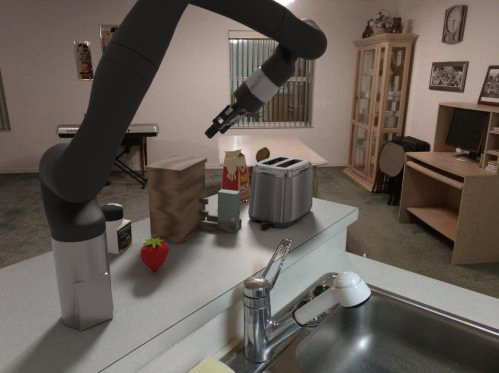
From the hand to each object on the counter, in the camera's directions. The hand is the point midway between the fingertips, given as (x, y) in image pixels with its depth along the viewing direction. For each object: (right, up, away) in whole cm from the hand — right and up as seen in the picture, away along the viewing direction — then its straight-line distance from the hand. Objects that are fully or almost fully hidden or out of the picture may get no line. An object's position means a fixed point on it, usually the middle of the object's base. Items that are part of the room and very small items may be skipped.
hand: (213, 133), depth 98 cm
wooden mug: (+13, -17, +54) cm, 58 cm away
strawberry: (-13, -34, -9) cm, 38 cm away
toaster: (+19, -24, +29) cm, 43 cm away
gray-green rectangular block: (+3, -27, +18) cm, 32 cm away
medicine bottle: (-27, -31, +3) cm, 41 cm away
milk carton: (+4, -19, +45) cm, 49 cm away
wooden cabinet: (-6, -28, +14) cm, 32 cm away
